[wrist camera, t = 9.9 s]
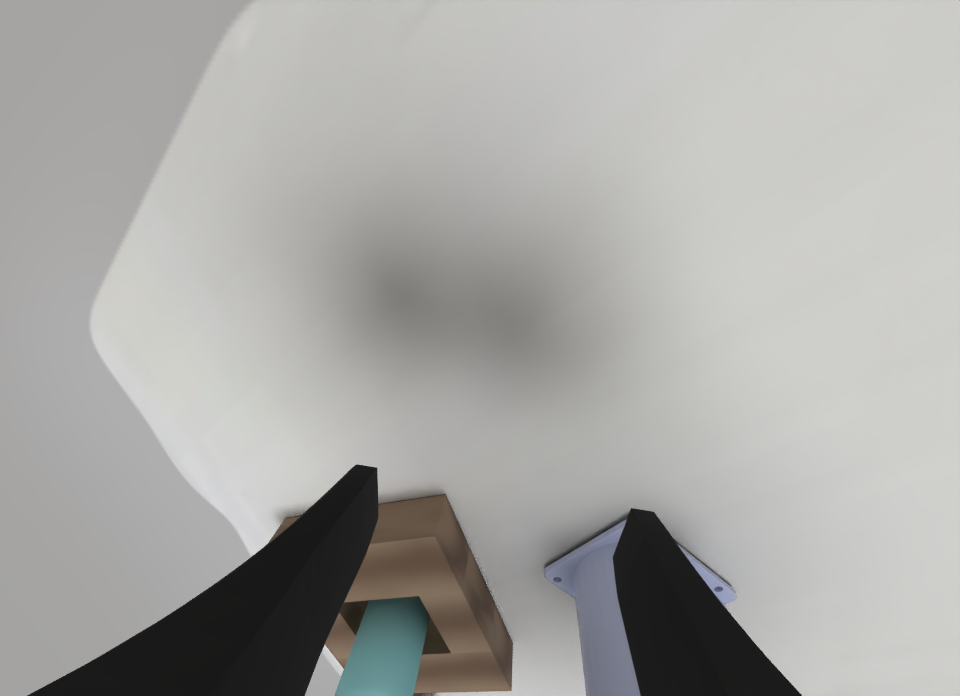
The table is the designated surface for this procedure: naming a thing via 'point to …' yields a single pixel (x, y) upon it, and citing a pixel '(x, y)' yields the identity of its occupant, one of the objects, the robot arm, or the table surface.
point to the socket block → (430, 597)
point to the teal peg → (386, 649)
